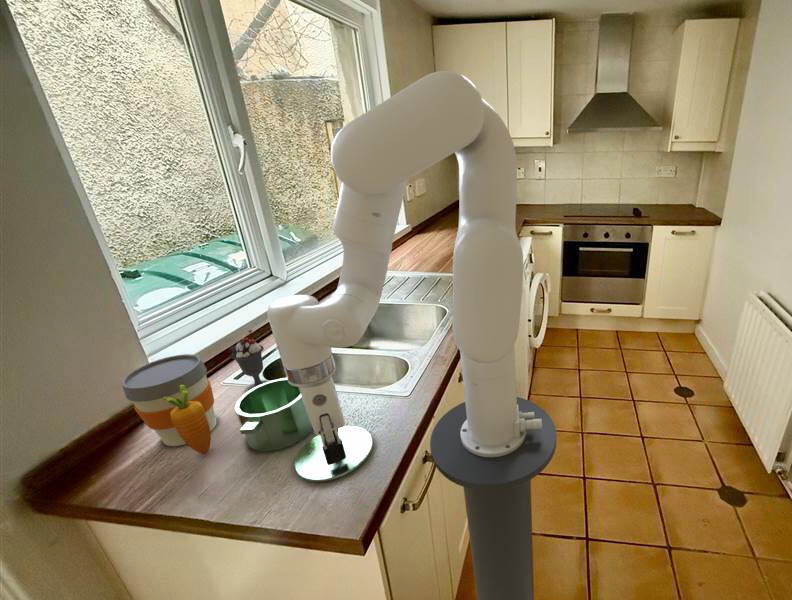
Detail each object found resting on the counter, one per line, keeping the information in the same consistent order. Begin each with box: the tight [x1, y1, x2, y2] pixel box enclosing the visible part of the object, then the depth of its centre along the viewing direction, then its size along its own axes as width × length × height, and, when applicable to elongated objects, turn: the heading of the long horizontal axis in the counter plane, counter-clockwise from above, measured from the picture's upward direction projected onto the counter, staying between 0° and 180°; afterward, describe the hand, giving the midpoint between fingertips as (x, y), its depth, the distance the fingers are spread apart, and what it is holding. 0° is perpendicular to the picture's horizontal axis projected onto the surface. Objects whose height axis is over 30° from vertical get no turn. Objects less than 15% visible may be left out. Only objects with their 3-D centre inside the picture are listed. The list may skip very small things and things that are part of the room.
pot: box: [233, 376, 314, 453], centre depth 80 cm, size 13×18×8 cm
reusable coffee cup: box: [121, 353, 217, 447], centre depth 79 cm, size 13×13×15 cm
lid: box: [294, 423, 374, 483], centre depth 73 cm, size 14×14×7 cm
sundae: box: [228, 329, 270, 392], centre depth 93 cm, size 7×7×15 cm
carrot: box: [163, 385, 212, 455], centre depth 73 cm, size 5×5×15 cm
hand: (333, 446), depth 73 cm, fingers open, 7 cm apart
